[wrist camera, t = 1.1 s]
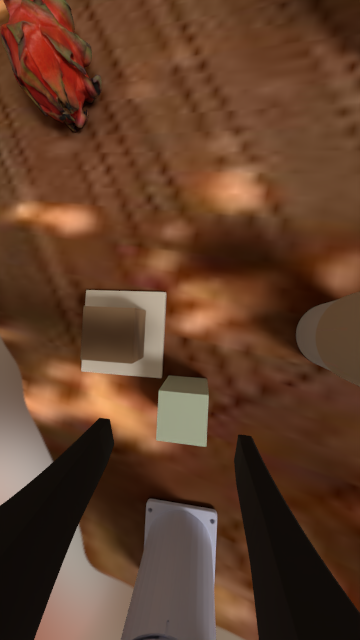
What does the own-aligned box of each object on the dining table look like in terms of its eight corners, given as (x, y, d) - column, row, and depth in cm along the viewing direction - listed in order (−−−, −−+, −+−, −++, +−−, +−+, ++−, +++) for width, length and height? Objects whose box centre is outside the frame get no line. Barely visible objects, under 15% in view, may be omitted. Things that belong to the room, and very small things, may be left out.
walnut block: (143, 357, 21) (132, 363, 18) (99, 354, 22) (80, 359, 19) (145, 310, 21) (135, 307, 18) (102, 308, 22) (83, 305, 19)
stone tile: (162, 377, 22) (161, 378, 21) (83, 370, 23) (81, 371, 22) (166, 292, 22) (165, 292, 21) (88, 290, 23) (86, 289, 22)
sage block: (205, 417, 21) (206, 446, 16) (166, 413, 21) (156, 440, 17) (207, 378, 21) (208, 395, 16) (168, 375, 22) (158, 390, 17)
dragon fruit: (79, 74, 26) (104, 163, 27) (0, 45, 21) (33, 152, 23) (81, -29, 18) (116, 100, 19) (-39, -105, 14) (13, 66, 15)
